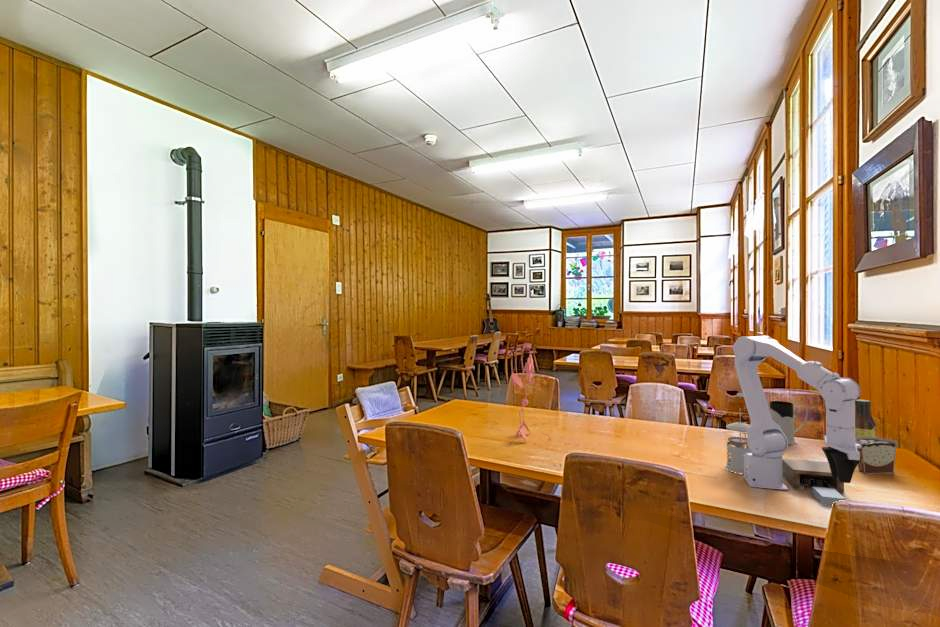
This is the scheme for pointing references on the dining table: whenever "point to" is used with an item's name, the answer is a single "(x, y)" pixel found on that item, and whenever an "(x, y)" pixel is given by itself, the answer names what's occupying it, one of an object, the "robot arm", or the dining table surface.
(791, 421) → the glass holder
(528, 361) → the figurine
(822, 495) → the grey rectangular block
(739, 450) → the french press
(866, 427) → the sauce bottle
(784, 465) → the overhang shelf
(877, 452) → the food container
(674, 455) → the dining table surface
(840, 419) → the robot arm
